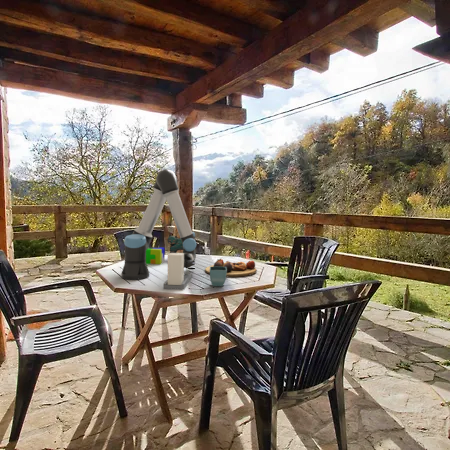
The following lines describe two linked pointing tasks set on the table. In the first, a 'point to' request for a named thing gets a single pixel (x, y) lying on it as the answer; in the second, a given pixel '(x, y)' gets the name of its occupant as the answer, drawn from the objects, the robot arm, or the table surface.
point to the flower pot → (218, 275)
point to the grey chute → (184, 284)
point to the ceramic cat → (175, 243)
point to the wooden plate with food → (235, 268)
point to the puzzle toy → (155, 255)
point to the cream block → (175, 268)
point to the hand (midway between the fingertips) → (177, 268)
